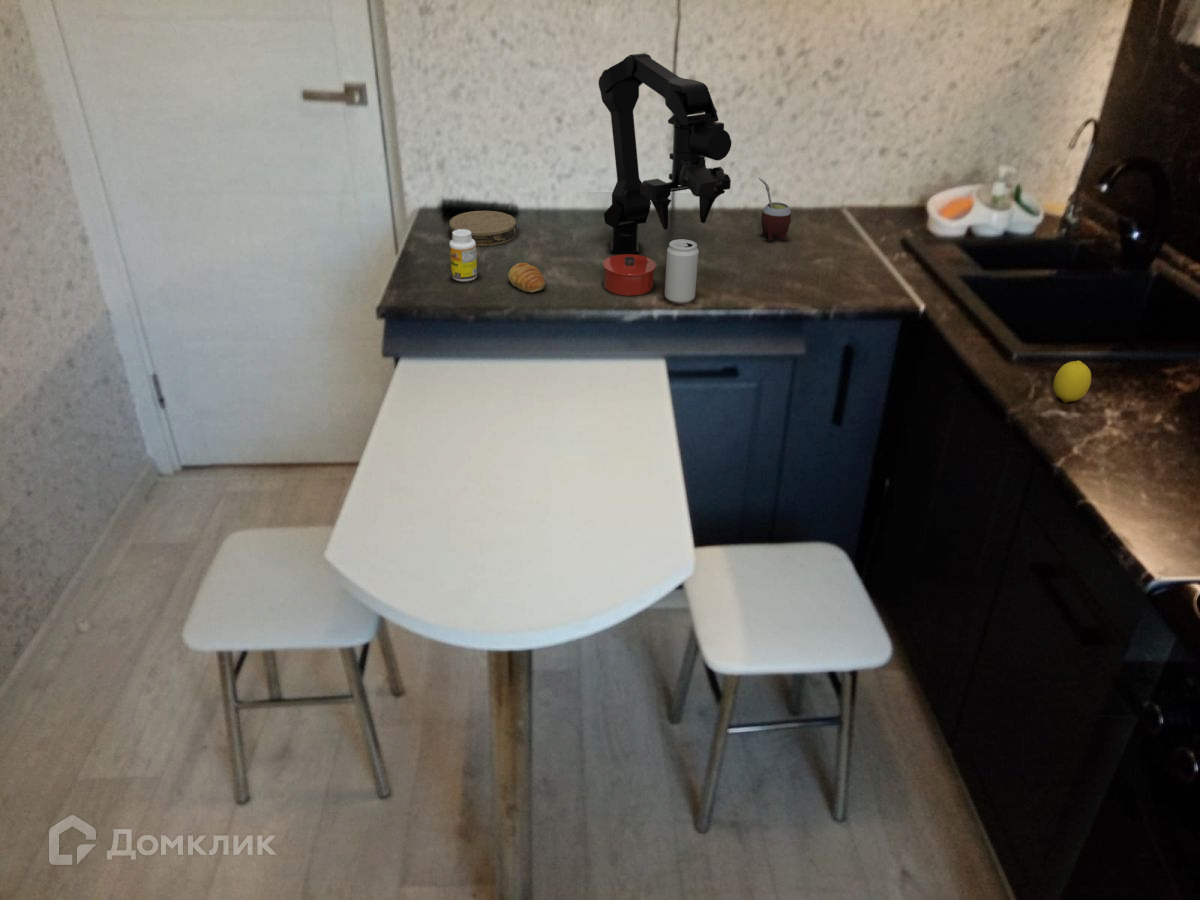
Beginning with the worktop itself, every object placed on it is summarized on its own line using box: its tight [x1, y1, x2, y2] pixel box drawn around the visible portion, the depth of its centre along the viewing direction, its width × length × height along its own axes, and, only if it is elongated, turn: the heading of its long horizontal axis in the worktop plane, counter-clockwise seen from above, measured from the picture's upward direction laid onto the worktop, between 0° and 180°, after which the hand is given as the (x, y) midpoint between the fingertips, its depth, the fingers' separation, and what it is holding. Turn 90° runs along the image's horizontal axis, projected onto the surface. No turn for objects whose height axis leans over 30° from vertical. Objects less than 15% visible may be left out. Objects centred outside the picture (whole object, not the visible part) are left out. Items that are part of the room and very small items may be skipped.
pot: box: [603, 267, 655, 296], centre depth 194 cm, size 10×10×4 cm
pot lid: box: [602, 253, 657, 276], centre depth 193 cm, size 11×11×2 cm
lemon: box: [1052, 360, 1092, 403], centre depth 155 cm, size 6×6×8 cm
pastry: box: [507, 262, 546, 293], centre depth 193 cm, size 9×7×4 cm
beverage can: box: [664, 239, 699, 305], centre depth 187 cm, size 6×6×12 cm
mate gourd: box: [758, 177, 792, 243], centre depth 217 cm, size 8×8×15 cm
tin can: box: [449, 210, 517, 247], centre depth 219 cm, size 16×16×3 cm
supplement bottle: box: [448, 229, 478, 283], centre depth 195 cm, size 6×6×10 cm
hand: (684, 226), depth 192 cm, fingers open, 9 cm apart
